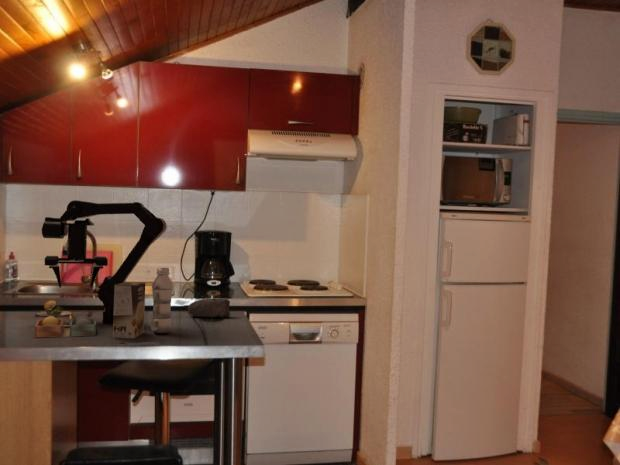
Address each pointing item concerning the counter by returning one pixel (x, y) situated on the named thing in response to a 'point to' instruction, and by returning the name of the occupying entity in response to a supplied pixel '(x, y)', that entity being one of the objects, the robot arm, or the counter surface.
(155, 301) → the plastic bottle
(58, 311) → the burger
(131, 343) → the counter surface
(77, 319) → the slate ball
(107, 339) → the counter surface
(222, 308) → the perforated stone tool
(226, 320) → the counter surface
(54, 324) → the ochre ball
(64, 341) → the counter surface
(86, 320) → the slate ball
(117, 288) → the coffee box
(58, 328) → the wooden sorting board
